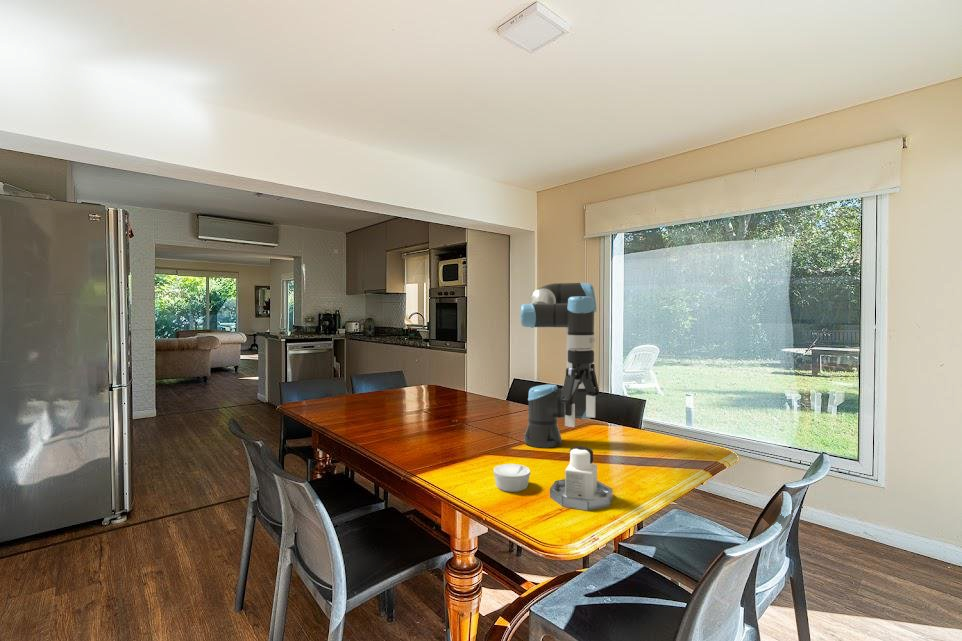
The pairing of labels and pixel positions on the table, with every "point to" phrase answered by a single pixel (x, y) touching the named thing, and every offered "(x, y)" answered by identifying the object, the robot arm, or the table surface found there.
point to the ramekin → (511, 477)
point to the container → (581, 474)
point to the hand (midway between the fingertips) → (580, 421)
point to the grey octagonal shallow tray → (599, 500)
